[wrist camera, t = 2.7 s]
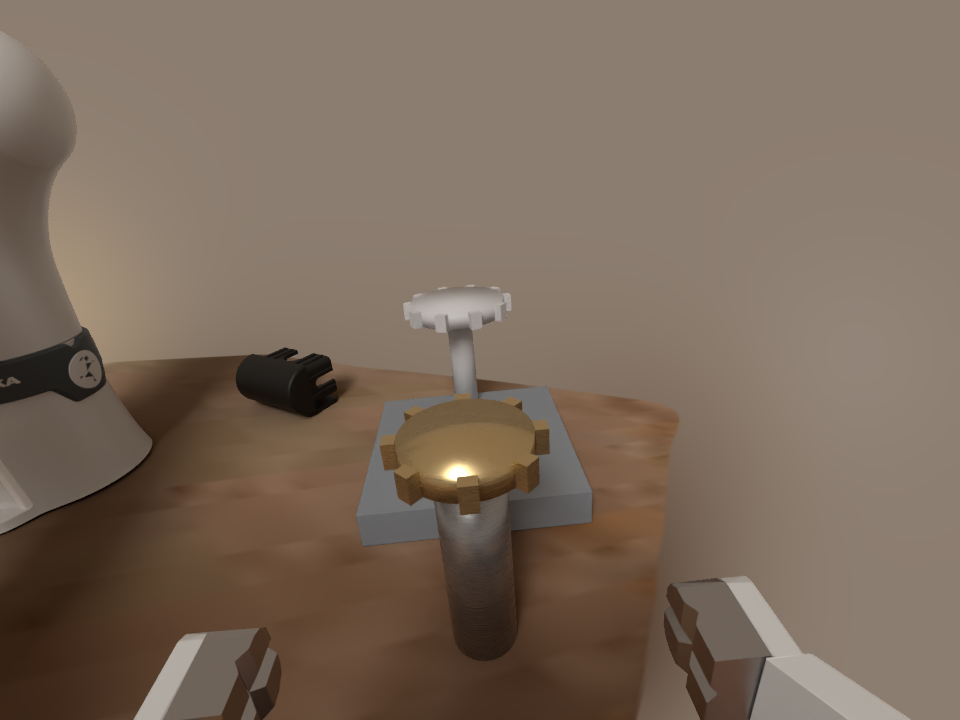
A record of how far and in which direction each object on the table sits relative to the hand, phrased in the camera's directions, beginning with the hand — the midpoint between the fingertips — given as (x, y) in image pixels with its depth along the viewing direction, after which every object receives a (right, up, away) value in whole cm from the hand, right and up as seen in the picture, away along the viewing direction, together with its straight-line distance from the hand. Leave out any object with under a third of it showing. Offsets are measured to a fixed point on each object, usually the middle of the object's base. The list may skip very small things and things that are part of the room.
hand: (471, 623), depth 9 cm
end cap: (-23, -1, +49) cm, 55 cm away
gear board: (-1, -4, +37) cm, 37 cm away
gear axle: (+1, -11, +20) cm, 23 cm away
